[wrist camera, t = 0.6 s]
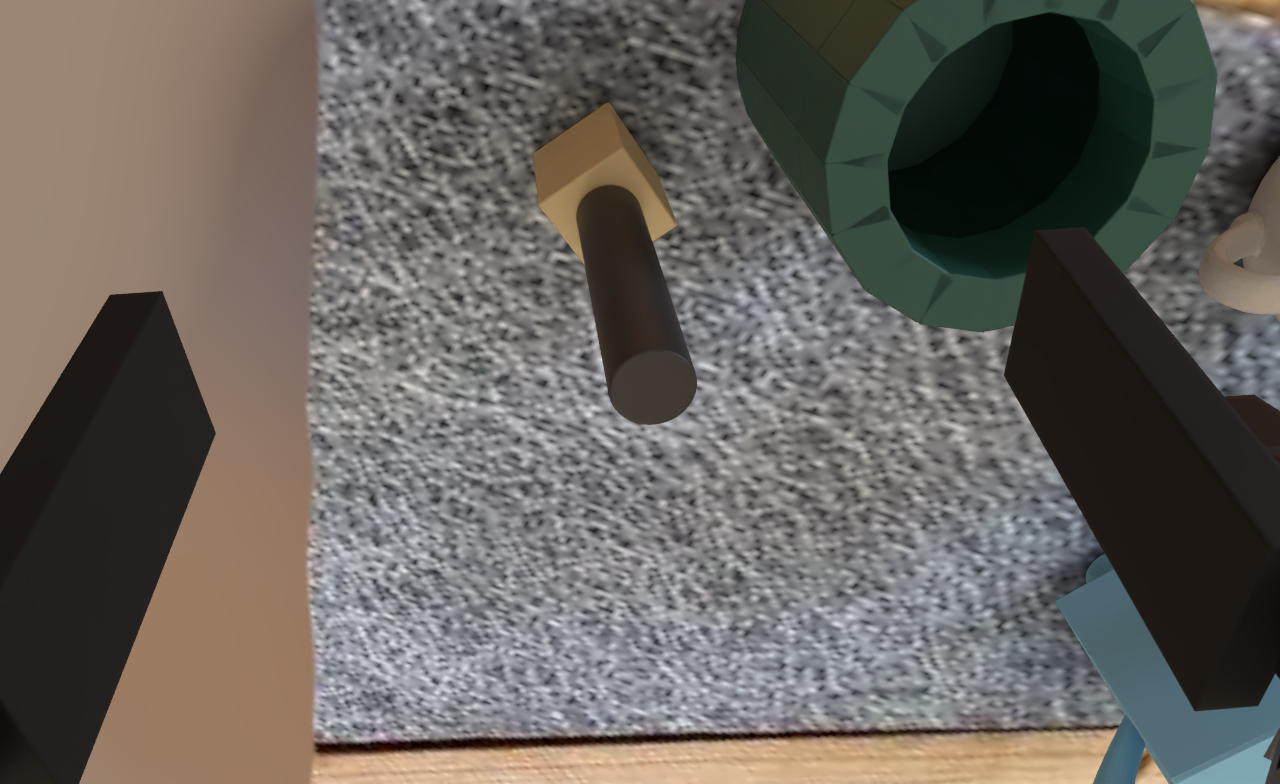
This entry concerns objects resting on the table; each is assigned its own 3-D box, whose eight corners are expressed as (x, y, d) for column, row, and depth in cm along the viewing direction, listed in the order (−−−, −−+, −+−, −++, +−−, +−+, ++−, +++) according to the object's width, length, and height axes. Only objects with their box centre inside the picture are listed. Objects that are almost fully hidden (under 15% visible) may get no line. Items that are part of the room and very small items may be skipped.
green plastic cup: (715, -79, 35) (806, -3, 25) (1022, -150, 35) (1238, -102, 25) (755, 210, 41) (844, 365, 31) (1020, 148, 41) (1195, 284, 31)
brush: (531, 153, 39) (556, 377, 25) (608, 100, 38) (675, 302, 25) (584, 223, 40) (633, 468, 27) (658, 173, 40) (746, 399, 26)
